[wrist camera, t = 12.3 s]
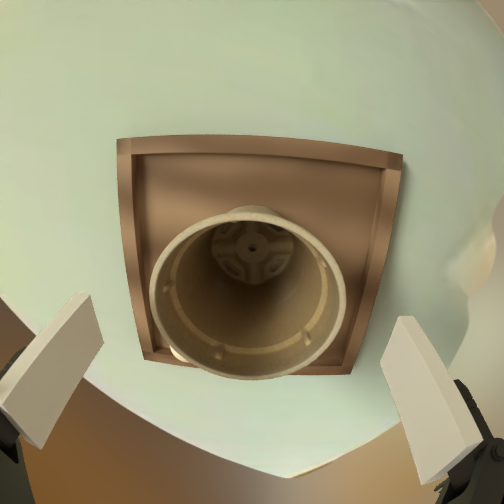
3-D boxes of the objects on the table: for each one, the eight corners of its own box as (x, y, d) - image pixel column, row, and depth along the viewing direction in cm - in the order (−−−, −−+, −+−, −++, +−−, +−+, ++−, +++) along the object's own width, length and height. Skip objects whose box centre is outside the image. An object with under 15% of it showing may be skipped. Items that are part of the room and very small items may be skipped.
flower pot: (336, 206, 19) (381, 253, 11) (291, 313, 23) (300, 394, 15) (208, 165, 19) (166, 185, 11) (180, 281, 22) (142, 352, 14)
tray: (126, 138, 19) (116, 139, 17) (394, 153, 18) (402, 154, 17) (148, 349, 26) (144, 359, 25) (347, 363, 26) (350, 374, 24)
